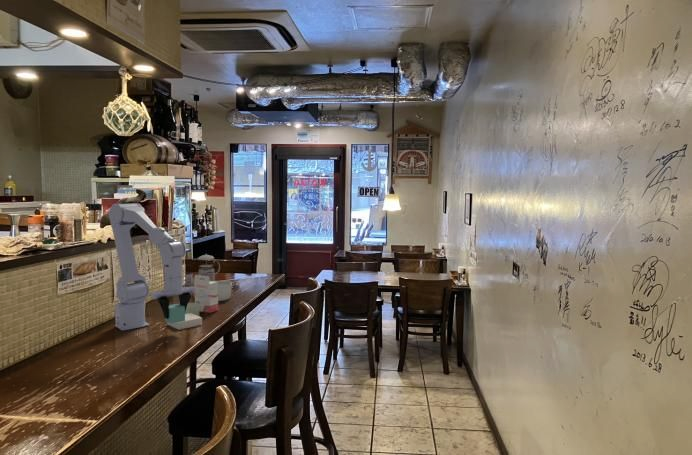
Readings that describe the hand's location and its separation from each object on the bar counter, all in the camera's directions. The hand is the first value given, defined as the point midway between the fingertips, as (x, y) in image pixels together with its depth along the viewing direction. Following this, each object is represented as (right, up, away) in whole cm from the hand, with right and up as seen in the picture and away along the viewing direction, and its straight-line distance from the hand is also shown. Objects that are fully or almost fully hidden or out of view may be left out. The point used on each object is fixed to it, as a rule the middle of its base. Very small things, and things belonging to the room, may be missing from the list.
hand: (174, 316), depth 162 cm
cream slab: (0, -5, +11) cm, 12 cm away
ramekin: (+1, -2, +51) cm, 51 cm away
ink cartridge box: (+2, -4, +31) cm, 31 cm away
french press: (-12, +1, +83) cm, 84 cm away
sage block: (-2, -4, +23) cm, 24 cm away
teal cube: (0, -1, 0) cm, 2 cm away
